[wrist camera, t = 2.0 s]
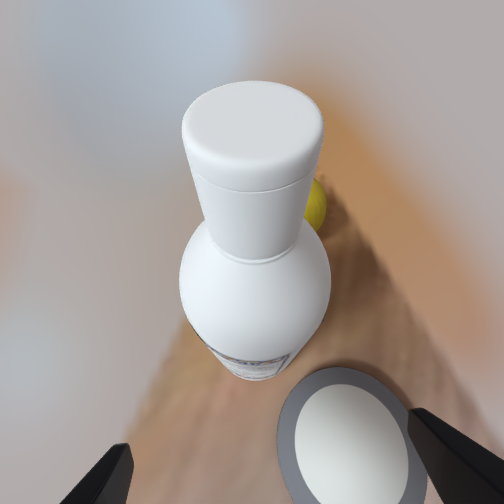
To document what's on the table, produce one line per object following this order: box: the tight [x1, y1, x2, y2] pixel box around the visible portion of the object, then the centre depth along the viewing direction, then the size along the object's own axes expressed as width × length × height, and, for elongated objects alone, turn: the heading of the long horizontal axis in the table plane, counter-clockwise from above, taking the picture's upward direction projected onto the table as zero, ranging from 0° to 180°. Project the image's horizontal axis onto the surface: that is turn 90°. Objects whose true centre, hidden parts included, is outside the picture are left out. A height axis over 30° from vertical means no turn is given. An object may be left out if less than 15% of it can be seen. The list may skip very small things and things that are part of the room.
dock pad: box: [277, 367, 427, 504], centre depth 18 cm, size 10×10×1 cm
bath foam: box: [179, 81, 331, 381], centre depth 14 cm, size 7×7×20 cm
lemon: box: [303, 178, 327, 232], centre depth 24 cm, size 6×6×8 cm
